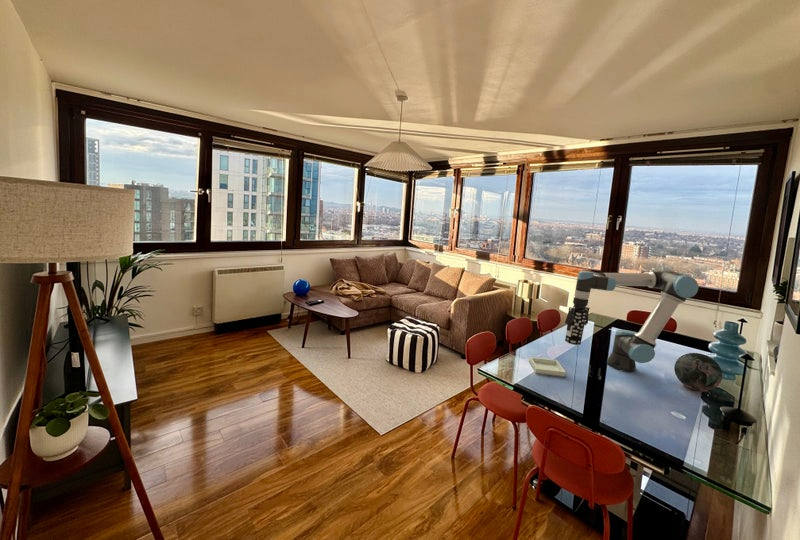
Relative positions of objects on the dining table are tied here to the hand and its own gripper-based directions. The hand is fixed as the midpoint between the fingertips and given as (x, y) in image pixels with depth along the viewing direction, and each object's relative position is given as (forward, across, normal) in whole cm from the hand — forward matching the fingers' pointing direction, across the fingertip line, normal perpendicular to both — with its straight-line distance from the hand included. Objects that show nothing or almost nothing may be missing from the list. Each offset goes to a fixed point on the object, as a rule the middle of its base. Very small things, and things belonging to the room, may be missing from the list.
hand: (574, 335), depth 202 cm
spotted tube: (+5, 0, 0) cm, 5 cm away
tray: (+21, +13, -3) cm, 25 cm away
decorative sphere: (+20, -53, +37) cm, 68 cm away
